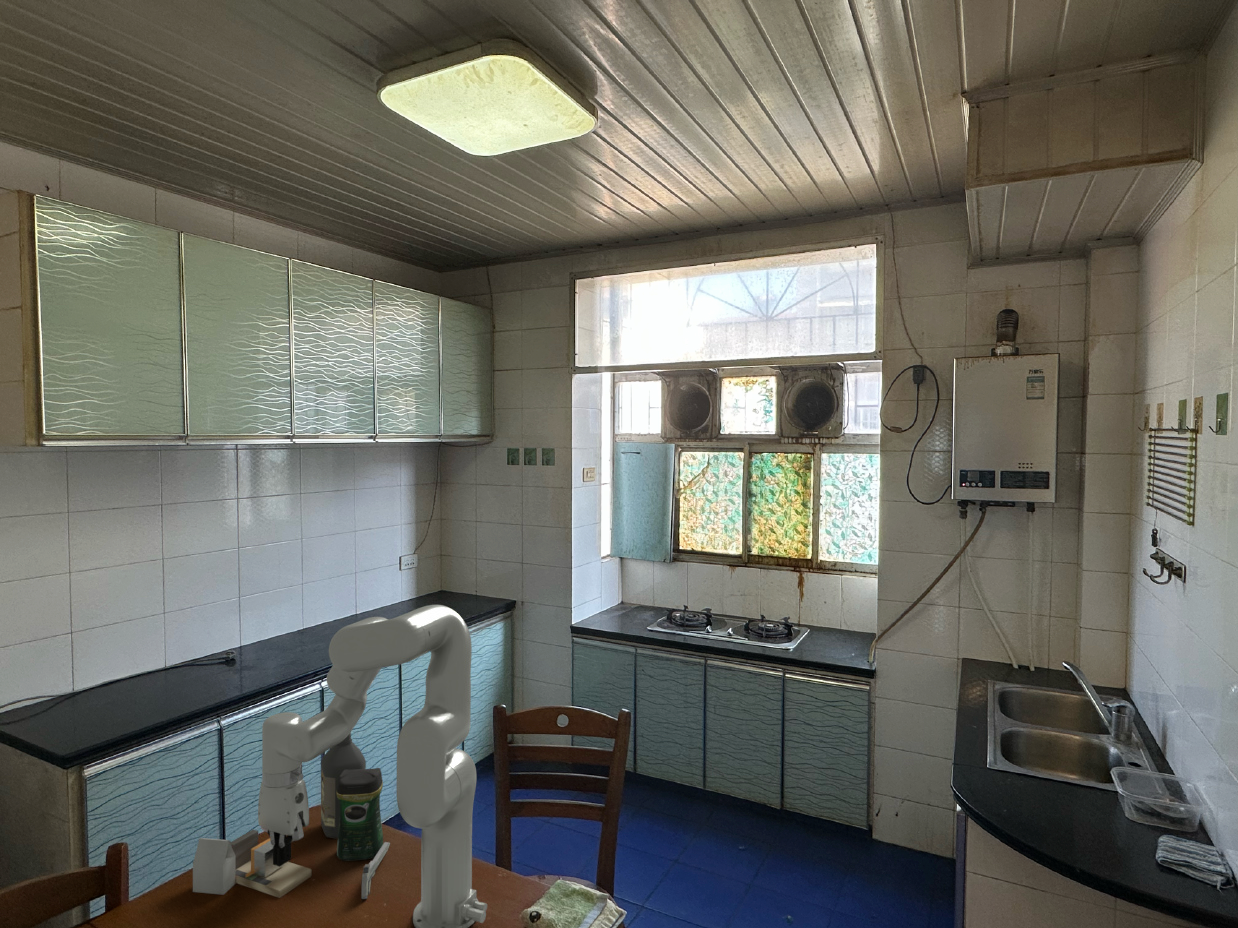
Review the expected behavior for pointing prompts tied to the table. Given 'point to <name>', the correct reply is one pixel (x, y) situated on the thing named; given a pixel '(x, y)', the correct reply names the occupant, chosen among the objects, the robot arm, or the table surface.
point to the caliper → (372, 870)
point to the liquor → (336, 781)
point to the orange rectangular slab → (253, 857)
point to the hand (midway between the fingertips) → (282, 861)
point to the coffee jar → (359, 814)
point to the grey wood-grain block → (264, 860)
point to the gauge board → (274, 882)
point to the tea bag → (213, 866)
